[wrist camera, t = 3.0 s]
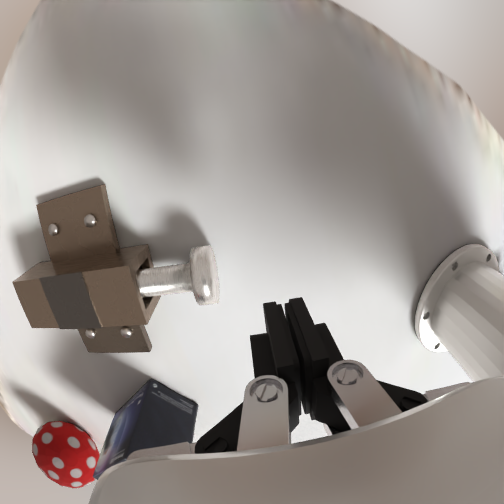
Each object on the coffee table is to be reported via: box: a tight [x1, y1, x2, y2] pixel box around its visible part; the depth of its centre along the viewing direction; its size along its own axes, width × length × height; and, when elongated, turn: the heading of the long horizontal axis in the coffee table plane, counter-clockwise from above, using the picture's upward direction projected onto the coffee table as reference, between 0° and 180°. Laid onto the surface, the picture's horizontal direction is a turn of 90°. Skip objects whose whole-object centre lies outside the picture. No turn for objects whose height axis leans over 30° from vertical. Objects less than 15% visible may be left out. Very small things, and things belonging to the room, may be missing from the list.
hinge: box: [13, 184, 161, 353], centre depth 19 cm, size 12×15×4 cm
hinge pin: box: [135, 245, 219, 305], centre depth 19 cm, size 14×4×4 cm, turn 97°
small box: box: [93, 379, 198, 480], centre depth 22 cm, size 11×6×10 cm, turn 139°
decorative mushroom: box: [32, 421, 100, 488], centre depth 27 cm, size 11×11×15 cm
